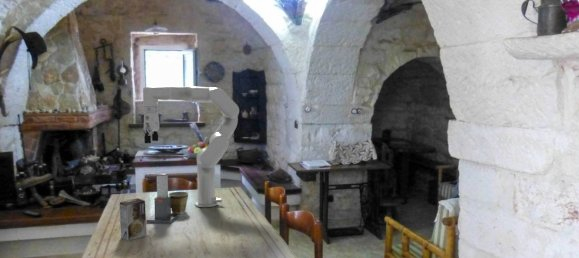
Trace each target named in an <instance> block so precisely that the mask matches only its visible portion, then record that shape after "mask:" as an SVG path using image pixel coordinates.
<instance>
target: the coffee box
mask: <svg viewBox="0 0 579 258" xmlns="http://www.w3.org/2000/svg"><path fill="white" fill-rule="evenodd" d="M146 213H147V212H146V200H144V199H141V198H133V199H129V200H128V199H127V200H124V201H120V202H119V218H120V224H119V225H120V238H121V239H122V240H125V241H127V242H130V241H133V240H137V239H139V238H142V237H146V236H147V223H146V220H147V218H146V217H147V216H146V215H147V214H146Z"/></svg>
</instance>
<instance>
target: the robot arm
mask: <svg viewBox="0 0 579 258" xmlns="http://www.w3.org/2000/svg"><path fill="white" fill-rule="evenodd" d="M142 99H143V100H142V103H143V104H142V107H143V109H142V111H143V112H142V113H144V115H143V128H142V129H143V136H144V138H143V139H144V144H151V143H152V142H158V141H159V130H160V117H159V100H160V101H183V102H189V103H206V104H210V103H211V104H213V105H214V106H215V107H216V108H217V109H218V110H219V111H220V112H221V114H222V121H221V123H219V126H217V128H216V130H215V131H214V132H213V134H212V135H211V136H210V137H209V141H208V142H209V144H208V145H207V147H206V148H205V147H204V148H200V150H199V151H198V152H197V154H196V168H197V169H196V170H197V174H196V175H197V200H196V201H195V203H194V206H195V207H199V208H211V207H213V208H214V207H216V206H218V205H219V203H223V198H221V197H220V198H218V197H217V195H216V168H215V166H216V165H218V163H219V161H220V160H221V159H222V157H223V156H224V154H225V153H226V152H227V150H228V148H229V146H230V141H229V140H230V138H231V137H232V135H233V133H234V132H235V130H236V128H237V126H238V120H239V118H238V117H239V113H240V108H239V106H238V104H237V103H236V102H235V101H234V100H233V99H232V98H231V97H229V95H228V94H227V93H226V92H225V91H224V90H222V88H220V87H214V86H213V87H211V86H208V87H207V86H195V85H194V86H193V85H192V86H191V85H189V86H171V85H163V86H156V85H155V86H153V85H151V86H150V85H149V86H143V88H142ZM151 132H152V133H151Z"/></svg>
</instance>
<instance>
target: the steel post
mask: <svg viewBox="0 0 579 258" xmlns="http://www.w3.org/2000/svg"><path fill="white" fill-rule="evenodd" d="M168 178H169V175H168V173H167V172H166V173H164V172H163V173H162V172H160V173H157V174H156V197H157V198H167V197H168V196H169V181H168V180H169V179H168Z"/></svg>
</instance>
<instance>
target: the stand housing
mask: <svg viewBox="0 0 579 258" xmlns="http://www.w3.org/2000/svg"><path fill="white" fill-rule="evenodd" d="M179 217H180V214H174V213H172V210H171V196H169V195H168V197H167V198H157V196H156V197H154V213H153V214H152V215H151V216H149V217H148V218H146V224H148V223H149V224H167V225H171V224H172V223H173V222H174V221H175V220H177V219H178V218H179Z"/></svg>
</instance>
